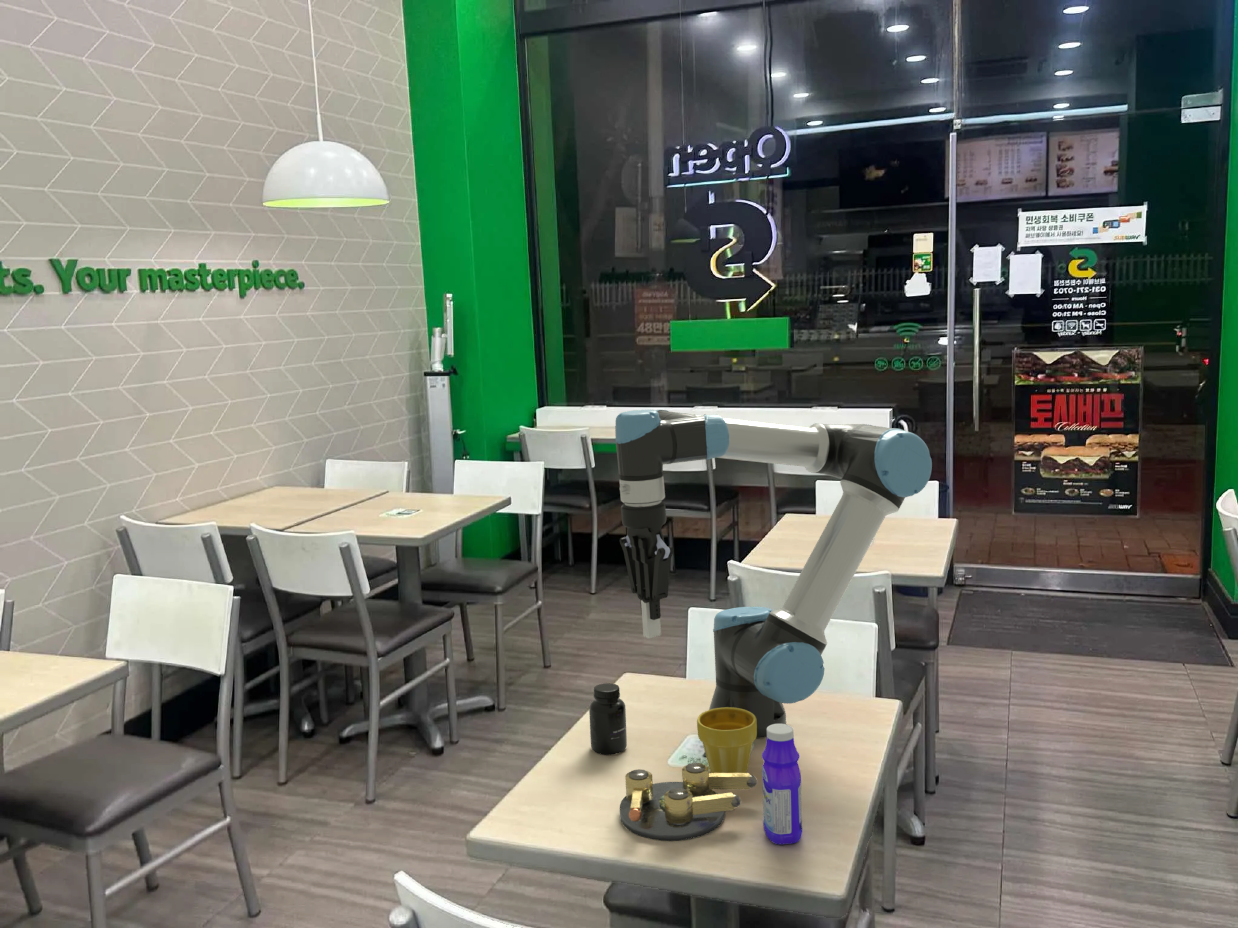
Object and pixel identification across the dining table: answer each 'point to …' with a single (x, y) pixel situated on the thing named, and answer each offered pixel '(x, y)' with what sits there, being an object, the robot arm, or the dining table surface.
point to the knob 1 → (638, 791)
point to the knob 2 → (695, 804)
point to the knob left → (713, 779)
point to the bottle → (781, 786)
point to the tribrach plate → (659, 827)
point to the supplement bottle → (607, 720)
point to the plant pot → (727, 738)
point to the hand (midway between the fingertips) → (652, 635)
